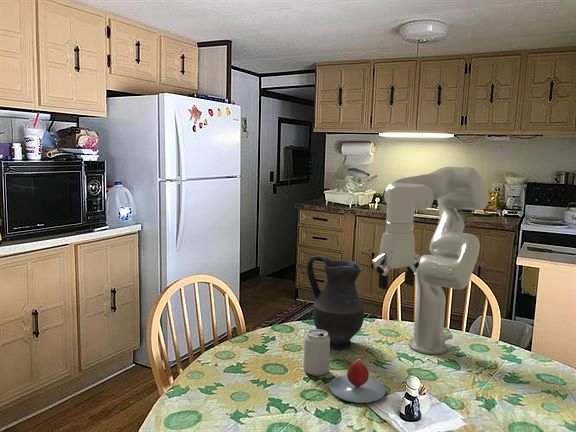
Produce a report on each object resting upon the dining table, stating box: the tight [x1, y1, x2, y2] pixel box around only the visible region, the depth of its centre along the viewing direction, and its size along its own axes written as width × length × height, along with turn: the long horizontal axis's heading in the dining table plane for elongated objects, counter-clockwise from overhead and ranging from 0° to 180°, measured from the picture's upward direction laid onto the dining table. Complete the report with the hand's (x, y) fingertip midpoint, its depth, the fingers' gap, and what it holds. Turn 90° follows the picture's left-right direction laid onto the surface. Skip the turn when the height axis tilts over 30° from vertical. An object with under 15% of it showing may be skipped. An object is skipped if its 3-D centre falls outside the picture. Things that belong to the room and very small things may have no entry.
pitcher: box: [306, 254, 365, 351], centre depth 162 cm, size 17×21×30 cm
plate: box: [329, 374, 386, 404], centre depth 131 cm, size 15×15×1 cm
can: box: [303, 328, 331, 377], centre depth 141 cm, size 8×8×12 cm
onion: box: [346, 358, 370, 387], centre depth 130 cm, size 6×6×8 cm
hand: (396, 286), depth 139 cm, fingers open, 9 cm apart
